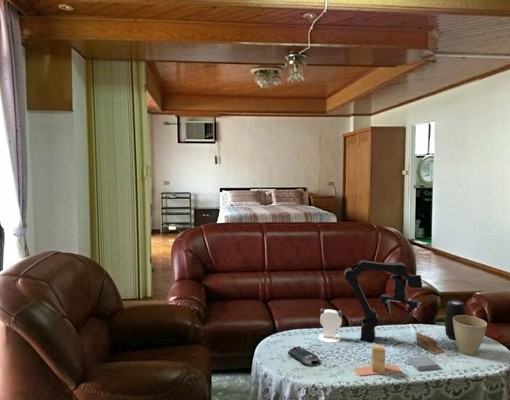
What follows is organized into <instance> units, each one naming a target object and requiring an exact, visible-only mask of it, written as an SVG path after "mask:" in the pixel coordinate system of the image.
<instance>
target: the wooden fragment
mask: <svg viewBox="0 0 510 400" xmlns="http://www.w3.org/2000/svg"><path fill="white" fill-rule="evenodd" d="M415 336H416V344H417V345H418V346H419V347H421V348H423V349H425V350H426V351H428V352H430V353H431V354H434V355H435V356H436V355H440V354H442V353H445V351H444V350H443V349H442V348H441V347H440V346H439V345H438V341H436V340H435V339H433V338H432V337H430V336H428V335H425V334H422V333H420V332H415Z"/></svg>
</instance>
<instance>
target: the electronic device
mask: <svg viewBox="0 0 510 400" xmlns="http://www.w3.org/2000/svg"><path fill="white" fill-rule="evenodd" d="M287 354H288V356H289V357H292V358H293V359H295V360H297V361H299V363H301V364H302V365H305V366H310V367H311V366H315V365H317V364H318V363H319V362H320V361H319V360H320V358H319V356H318V355H316V354H314V353H313V352H311V351H308V350H306V349H305V348H302V347H301V345H299V346H293V347H292V348H291V349H288V351H287ZM314 361H315V362H316V364H315V363H314ZM313 363H314V364H313Z"/></svg>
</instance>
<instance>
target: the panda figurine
mask: <svg viewBox="0 0 510 400" xmlns="http://www.w3.org/2000/svg"><path fill="white" fill-rule="evenodd" d="M319 314H320V317H319V323H320V325H321V327H322V330H323V331H322V332H323V333H320V334H319V336H318V338H319V340H321V341H322V342H325V343H332V344H333V343H339V342H340V341H341V340H342V338H341V336H340V335H339V334H337V331H339V328H340V327H341V326H342V322H343V321H342V320H343V319H342V317H343V316H344V314H343V311H342V310H341V309H339V310H338V311H337V310H335V309H324V308H320V311H319Z"/></svg>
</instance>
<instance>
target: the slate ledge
mask: <svg viewBox="0 0 510 400" xmlns="http://www.w3.org/2000/svg"><path fill="white" fill-rule="evenodd" d="M407 358H408V359H407V362H408V364H409V365H411V366H412V367H413V368H414V369H415V370H416V371H418V372H419V371H430V370H438V369H439V363H438V362H436V361H435V360H434V359H432V358H431V357H430V356H417V357H407Z"/></svg>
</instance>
